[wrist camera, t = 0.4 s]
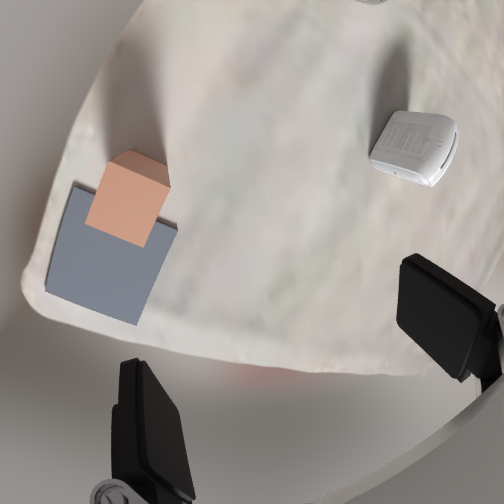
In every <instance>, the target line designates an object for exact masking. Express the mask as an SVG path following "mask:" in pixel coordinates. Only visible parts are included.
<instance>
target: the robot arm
mask: <svg viewBox="0 0 504 504" xmlns="http://www.w3.org/2000/svg"><path fill="white" fill-rule="evenodd" d="M358 1H361V2H364V3H367V4H380V3H383V2H385V1H387V0H358ZM495 306H496V304H494V303H493V302H491V301H490V300H489V299H487V298H486V297H484V296H483V295H481V294H480V293H478V292H477V291H476V290H474V289H473V288H471V287H470V286H468V285H467V284H465V283H464V282H462V281H461V280H459V279H458V278H456V277H455V276H453V275H451V274H450V273H448V272H447V271H445V270H444V269H442V268H441V267H439V266H437V265H436V264H434V263H433V262H431V261H429V260H428V259H426V258H424V257H423V256H421V255H420V254H417V253H415V254H413V255H410V256H408V257H406V258H404V259H403V261H402V264H401V265H400V274H399V292H398V305H397V317H396V321H397V324H398V326H399V327H400V328H401V329H402V330H403V331H404V332H405V333H406V334H407V335H408V336H409V337H410V338H412V339H413V340H414V341H415V342H416V343H417V344H418V345H419V346H420V347H421V348H422V349H423V350H424V351H425V352H426V353H427V354H428V355H429V356H430V357H431V358H432V359H433V360H434V361H435V362H437V363H438V364H439V365H440V366H441V367H442V368H443V369H444V370H445V371H446V372H447V373H448V374H449V375H450V376H451V377H452V378H454V379H457V380H458V381H459V382H460V383H462V382H463V381H464V380H465V379H467V378H468V377H469V376H470V375H471V373H472V374H474V375H475V384H476V400H475V401H473V402H472V403H471V404H470V405H469V406H468V407H466V408H465V409H464V410H463V411H462V412H460V413H459V414H458V415H457V416H455V417H454V418H453V419H452V420H450V421H449V422H448V423H447V424H445V425H444V426H443V427H442V428H440V429H439V430H437V431H436V432H435V433H433V434H432V435H430V436H429V437H428V438H426V439H425V440H423V441H422V442H421V443H419V444H418V445H416V446H414V447H413V448H412V449H410V450H408V451H407V452H405V453H404V454H402V455H401V456H399V457H397V458H396V459H394V460H393V461H391V462H389V463H387V464H386V465H384V466H382V467H381V468H379V469H377V470H375V471H373V472H372V473H370V474H368V475H366V476H364V477H362V478H360V479H358V480H357V481H354V482H352V483H350V484H348V485H346V486H344V487H342V488H340V489H338V490H336V491H334V492H331V493H329V494H327V495H325V496H322V497H320V498H317V499H315V500H313V501H310V502H308V503H305V504H504V304H503V305H501V306H500V307H499V309H498V312H496V311H494V310H495ZM111 463H112V464H111V467H112V479H107V480H104V481H101V482H100V483H98V484H97V485H96V486H95V487H94V489H93V491H92V493H91V496H90V504H192V500H195V499H196V496H195V491H194V487H193V482H192V478H191V473H190V468H189V464H188V459H187V454H186V449H185V443H184V438H183V432H182V426H181V420H180V415H179V412H178V409H177V407H176V406H175V405H174V403H173V402H172V400H171V399H170V398H169V396H168V395H167V393H166V392H165V390H164V389H163V387H162V386H161V384H160V383H159V381H158V380H157V378H156V377H155V375H154V374H153V372H152V370H151V369H150V367H149V366H148V364H147V363H146V361H140V360H139V359H138V358H134V359H131V360H127V361H124V362H121V364H120V376H119V395H118V404H116V405H114V406H113V409H112V425H111Z"/></svg>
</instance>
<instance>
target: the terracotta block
mask: <svg viewBox="0 0 504 504" xmlns="http://www.w3.org/2000/svg"><path fill="white" fill-rule="evenodd" d="M170 188H171V187H170V180H169V173H168V166H167V165H164V164H162V163H160V162H158V161H156V160H153V159H151V158H149V157H147V156H144V155H142V154H140V153H138V152H135V151H133V150H131V149H128V150H127V151H125V152H123V153H122V154H120V155H118V156H117V157H115V158H113V159H112V160H110V161H109V162H108V165H107V167H106V169H105V172H104V174H103V177H102V179H101V181H100V184H99V186H98V189H97V192H96V194H95V197H94V199H93V202H92V205H91V207H90V210H89V213H88V216H87V219H86V222H85V224H87V225H89V226H92V227H94V228H96V229H99V230H101V231H103V232H106V233H108V234H111V235H113V236H116V237H118V238H120V239H123V240H125V241H128V242H130V243H133V244H135V245H138V246H140V247H143V248H144V246H145V243H146V241H147V239H148V236H149V234H150V232H151V230H152V227H153V225H154V223H155V221H156V218H157V216H158V214H159V212H160V210H161V207H162V205H163V203H164V201H165V199H166V197H167V195H168V193H169V191H170Z"/></svg>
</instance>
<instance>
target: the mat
mask: <svg viewBox="0 0 504 504" xmlns="http://www.w3.org/2000/svg"><path fill="white" fill-rule="evenodd" d="M94 197H95V194H93V193H91V192H89V191H86V190H84V189H82V188H79V187H77V186H74V188H73V191H72V193H71V196H70V199H69V202H68V205H67V208H66V211H65V214H64V218H63V221H62V224H61V227H60V231H59V234H58V238H57V242H56V245H55V249H54V253H53V257H52V261H51V265H50V270H49V274H48V279H47V283H46V288H45V291H46V292H48V293H51V294H53V295H55V296H58V297H60V298H63V299H65V300H68V301H70V302H73V303H75V304H78V305H80V306H83V307H85V308H88V309H91V310H93V311H96V312H99V313H101V314H104V315H107V316H110V317H112V318H115V319H118V320H121V321H124V322H127V323H130V324H133V325H137V323H138V320H139V318H140V316H141V313H142V311H143V308H144V306H145V303H146V301H147V299H148V296H149V294H150V292H151V289H152V287H153V285H154V282H155V280H156V278H157V275H158V273H159V271H160V269H161V266H162V264H163V262H164V260H165V258H166V255H167V253H168V251H169V249H170V247H171V245H172V242H173V240H174V238H175V236H176V234H177V232H178V229H176V228H173V227H171V226H169V225H166V224H164V223H162V222H159V221H157V220H156V221H155V223H154V225H153V227H152V230H151V232H150V234H149V236H148V239H147V241H146V243H145V246H144V248H143V247H140V246H138V245H135V244H133V243H130V242H128V241H125V240H123V239H120V238H118V237H116V236H113V235H111V234H108V233H106V232H103V231H101V230H99V229H96V228H94V227H92V226H89V225H87V224H85V222H86V219H87V216H88V213H89V210H90V207H91V205H92V202H93V199H94Z"/></svg>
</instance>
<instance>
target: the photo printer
mask: <svg viewBox="0 0 504 504" xmlns="http://www.w3.org/2000/svg"><path fill="white" fill-rule="evenodd" d="M458 139H459V127H458V126H457V124H456V122H455V121H454V120H452V119H451V118H449V117H447V116H444V115H440V114H431V113H420V112H409V111H395V112H394V113H393V115H392V116H391V118H390V119H389V121H388V123H387V125H386V126H385V128H384V130H383V132H382V134H381V135H380V137H379V139H378V141H377V143H376V144H375V146H374V148H373V150H372V152H371V155H370V162H371V164H372V166H373V167H374V168H375V169H377V170H380V171H383V172H386V173H389V174H392V175H395V176H399V177H402V178H405V179H408V180H411V181H414V182H416V183H419V184H422V185H425V186H429V187H431V186H433V185H434V184H435V183H436V182H437V181H438V180H439V179H440V178H441V177H442V175H443V174H444V172H445V171H446V169H447V168H448V166H449V164H450V162H451V160H452V158H453V156H454V154H455V151H456V148H457V144H458Z"/></svg>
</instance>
